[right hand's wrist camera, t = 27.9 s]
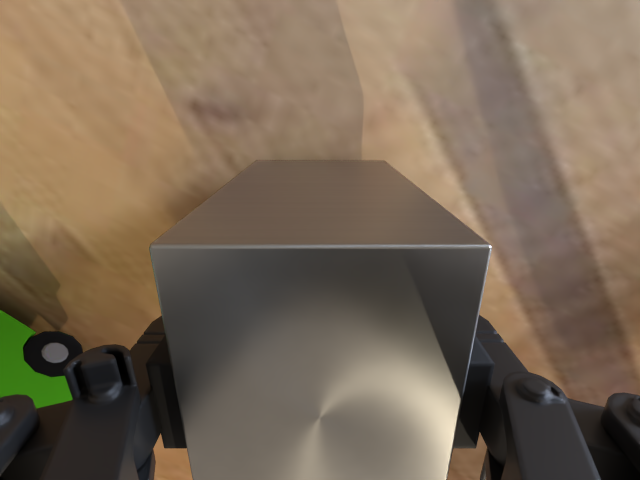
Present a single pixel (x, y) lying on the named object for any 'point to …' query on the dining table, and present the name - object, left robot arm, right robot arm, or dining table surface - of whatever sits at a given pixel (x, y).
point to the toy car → (35, 362)
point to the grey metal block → (320, 324)
